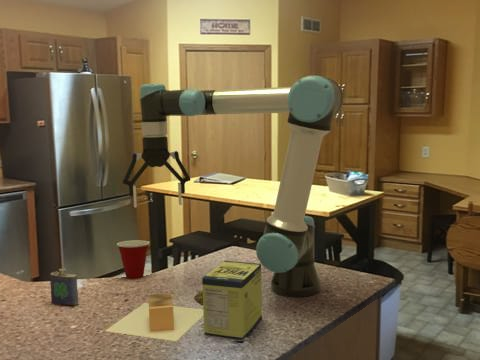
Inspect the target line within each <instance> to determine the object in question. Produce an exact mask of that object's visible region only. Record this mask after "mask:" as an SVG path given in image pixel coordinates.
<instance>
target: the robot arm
mask: <svg viewBox="0 0 480 360" xmlns="http://www.w3.org/2000/svg"><path fill="white" fill-rule="evenodd" d="M139 90H140V93H139V94H140V97H139V102H140V115H141V134H142V136H144V137H142V141H141V142H142V153H139V152H138V153H137V152H133V153H132V158H131V159H132V160H131V163H130V164H129V167H128V169H127V171H126V173H125V176H124V178H123V180H122V183H123V185H127V186H128V190H129V193H128V194H129V197H133V207H134V208H137V207H138V205H137V204H138V203H137V200H138V199H137V184H135V183H136V182H137V180H138V179H139V178H140V177H141V175H142V174H143V172H145V170H146V169H147V168H148V167H149V168H155V167H158V168H162V167H164V166H165V167H166V168H167V169H168V170H169V172H170V173H171V174H172V175H173V176H174V177H175V178H176V179H177V180H178V182H177V189H178V193H177V194H178V196H177V197H178V205H179V206H182V204H183V202H182V200H183V199H182V195H185V193H186V185H185V184H186V183H187V182H190V181H191V177H190V175H189V174H188V172H187V170H186V168H185V166H184V164H183V163H182V161H181V159H180V156H179V155H180V154H179V152H178V151H177V150H175V151H172V152H170V151H169V144H168V143H169V140H168V139H169V138H168V136H167V135H168V118H167V117H183V116H184V117H194V116H202V115H203V116H209V115H244V114H245V115H246V114H249V115H250V114H251V115H252V114H288V117H287V122H286V124H287V125H288V127H289V129H290V136H289V140H288V143H287V149H286V154H285V158H284V163H283V167H282V172H281V177H280V181H279V186H278V191H277V194H276V195H277V197H276V200H275V205H274V210H273V213H272V214H271V215H270V216H268V217H266V222H265V226H264V229H263V235H262V236H261V237H260V238H259V239H258V242H257V244H256V247H255V253H256V256H257V259H258V261H259V262H260V263H259V264H261V266H263V268H265V269H266V270H268V272H272V273H273V274H272V277H271V280H270V289H271V291H272V292H273V293H275V294H277V295H279V296H282V297H283V296H284V297H291V298H293V297H295V298H301V297H308V296H313V295H315V294H318V293H319V292H320V290H321V281H320V278H319V274H318V271H317V269H316V266H315V227H316V226H315V220H314V218H313V217H312V216H309V215H306V211H307V209H308V208H307V207H308V203H309V198H310V194H311V191H312V186H313V180H314V177H315V173H316V168H317V164H318V159H319V154H320V151H321V146H322V142H323V137H325V136H326V135H327V134H329V133H330V132H331V129H332V123H333V120H334V116H335V115H337V114H338V113H339V112H340V110H341V109H342V107H343V103H344V92H343V90H342V88H341V86H340V85H339V84H338V82H336V81H335V80H334V79H332V78H329V77H324V76H320V75H313V74H311V75H308V76H304V77H302V78H299V79H298V80H296V81H295V82H294V84H292V86H281V87H280V86H277V87H258V88H257V87H256V88H255V87H254V88H234V89H233V88H232V89H207V90H206V89H205V90H200V89H194V88H192V89H191V88H188V89H176V90H175V89H174V90H168V89H166V85H165V84H163V83H145V84H141V86H140V89H139ZM170 157H171V158H172V159H174V160H175V161H176V164H177V165H178V167H179V169H180V171H181V172H182V175H184V177H182V176H181V175H180V174H179V173H178V171H176V169H175V168H174V167H173V166H172V165H171V164H170V163H169V162H168V160H169V159H170ZM141 158H142V159H143V161H144V163H142V165H141V167H140V168H139V169H138V171H137V172H136V173H135V174H134V175H133V177H132V178H131V179H130V180H129V178H130V176H131V175H132V172H133V170H134V168H135V165H136V163H137V161H140V159H141Z"/></svg>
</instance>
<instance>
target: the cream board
mask: <svg viewBox="0 0 480 360" xmlns="http://www.w3.org/2000/svg"><path fill="white" fill-rule="evenodd" d="M173 314H174V330H163V331H153V332H150V321H149V302H143V303H142V304H141V305H139V306H138V307H136V309H133V310H132V311H131V312H129V313H128V314H126V315H125V316H124V317H123V318H121V319H119V321H117V322H116V323H114V324H112V325H111V326H110V327H108V328H106V330H104V332H108V333H115V334H120V335H122V334H123V335H130V336H136V337H143V338H151V339H155V340H163V341H172V342H177V341H178V340H179V339H181V337H182V336H183V335H184V334H185V333H187V332H188V331H189V330H190V329H192V328H193V326H194V325H195V324H196V323H198V321H199V320H200V319H202V318H203V317H204V313H203V309H200V308H194V307H193V308H191V307H183V306H175V305H173Z"/></svg>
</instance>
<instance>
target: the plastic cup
mask: <svg viewBox="0 0 480 360" xmlns="http://www.w3.org/2000/svg"><path fill="white" fill-rule="evenodd" d="M116 245H117V247H118V250H119V253H120V258H121V262H122V267H123V270H124V273H125V278H127V279H129V280H135V279H136V280H137V279H141V278H143V277H144V274H145V267H146V261H147V260H146V259H147V252H148V247H149V245H150V241H149V240H139V239H136V240H135V239H134V240H133V239H132V240H124V241H120V242H118V243H116Z"/></svg>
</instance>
